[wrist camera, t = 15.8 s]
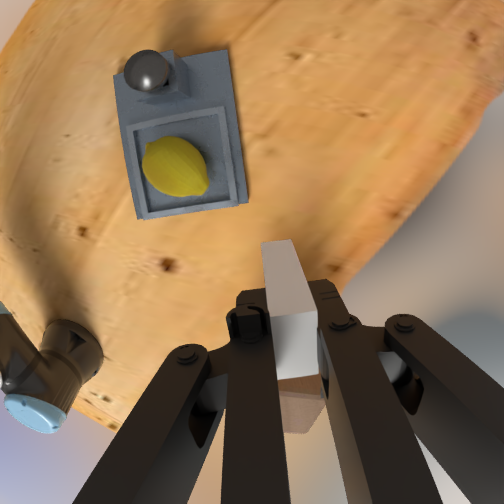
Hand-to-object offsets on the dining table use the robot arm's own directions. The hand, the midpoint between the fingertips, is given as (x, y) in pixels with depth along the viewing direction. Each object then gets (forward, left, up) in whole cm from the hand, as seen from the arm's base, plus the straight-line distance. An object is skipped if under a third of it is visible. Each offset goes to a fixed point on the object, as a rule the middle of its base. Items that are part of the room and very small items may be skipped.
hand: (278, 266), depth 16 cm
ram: (-11, +16, -31) cm, 36 cm away
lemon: (-11, +3, -33) cm, 35 cm away
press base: (-11, +8, -34) cm, 37 cm away
